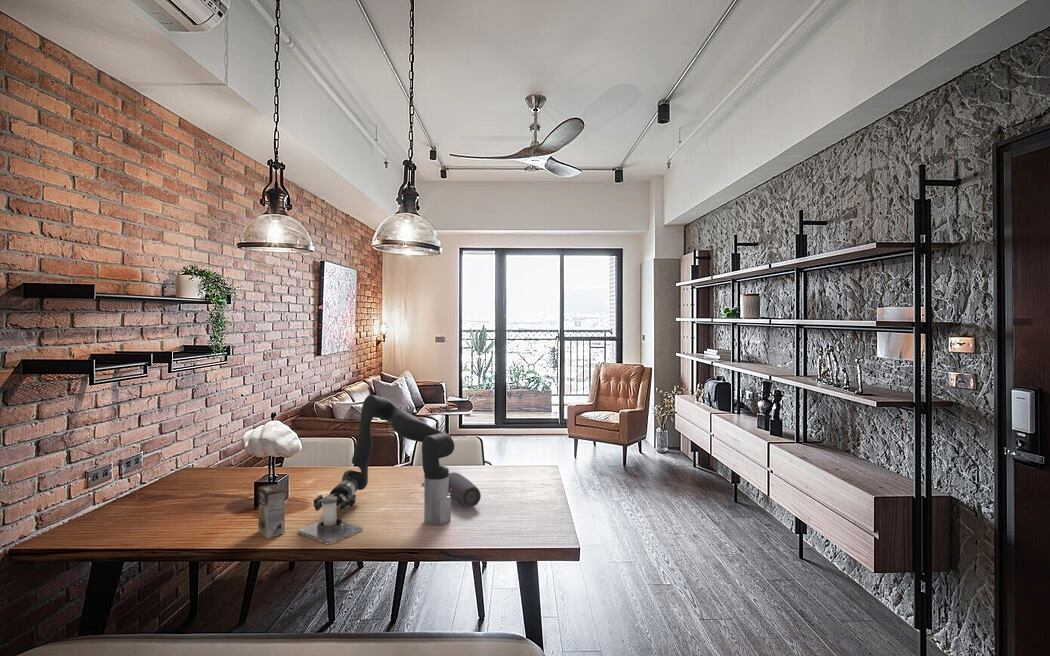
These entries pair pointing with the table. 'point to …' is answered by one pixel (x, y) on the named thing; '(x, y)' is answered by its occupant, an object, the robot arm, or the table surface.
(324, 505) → the grey capped jar
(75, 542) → the table surface
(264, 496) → the coffee box
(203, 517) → the table surface
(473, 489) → the bluetooth speaker
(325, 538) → the hub plate
